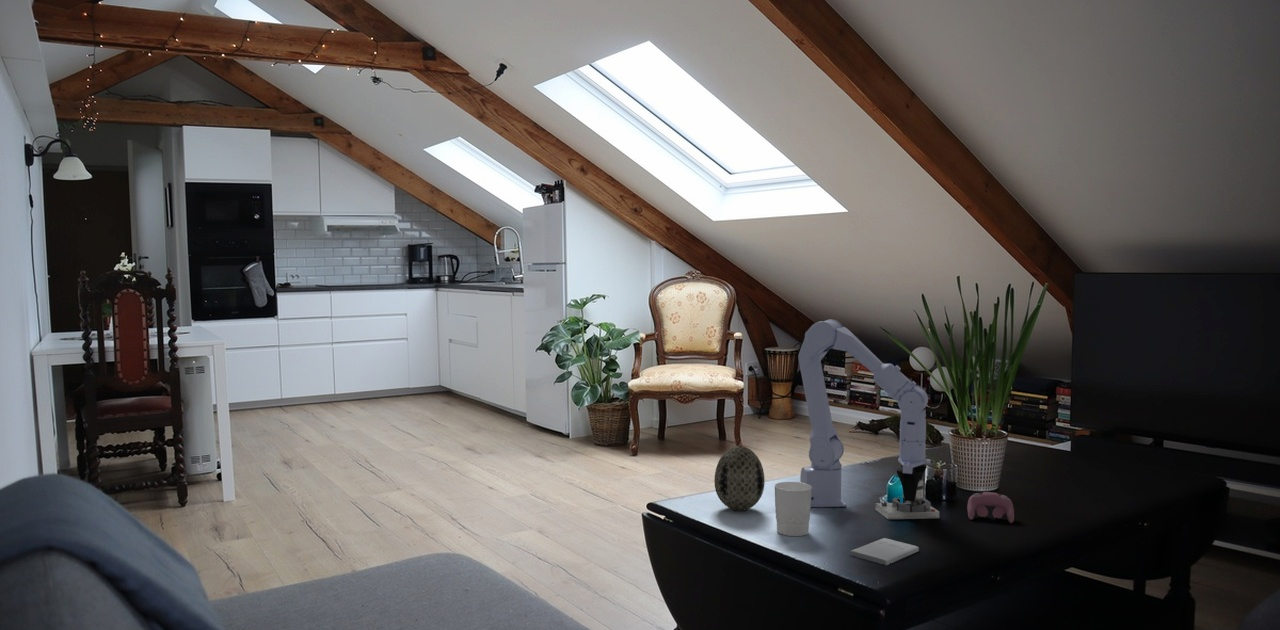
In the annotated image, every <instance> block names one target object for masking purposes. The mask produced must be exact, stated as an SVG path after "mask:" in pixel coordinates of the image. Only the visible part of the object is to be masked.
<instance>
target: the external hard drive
mask: <svg viewBox="0 0 1280 630" xmlns="http://www.w3.org/2000/svg"><path fill="white" fill-rule="evenodd" d="M919 551H920V548H919V546H916V545H913V544H910V543H905V542H902V541H897V540H893V539H890V538H887V537H883V538H880V539H878V540H875V541H872V542H870V543H867V544H864V545H861V546H860V547H857V548H855V549H852V550H850V551H849V556H852V557H854V556H855V558H859V559H861V560H865V559H866V560H865V561H870V562H872V563H873V562H874V563H876V562H877V563H876V564H880V565H883V564H884V566H888V565H891V564H892V563H895V562H897V561H900V560H902V559H904V558H907V557H908V556H911V555H913V554H915V553H917V552H919ZM890 563H891V564H890Z"/></svg>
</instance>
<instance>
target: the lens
mask: <svg viewBox="0 0 1280 630" xmlns="http://www.w3.org/2000/svg"><path fill="white" fill-rule="evenodd" d="M902 497H903V503H905V504H911V505H916V504H923V498H924V480H923V479H921V480H919V483H918V487H917V492H916V497H915V500H914V501H906V500H905V499H904V495H903V494H902Z"/></svg>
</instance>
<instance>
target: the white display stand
mask: <svg viewBox="0 0 1280 630" xmlns="http://www.w3.org/2000/svg"><path fill="white" fill-rule="evenodd" d="M899 499H900V498H896V497H894V498H891V502H887V501H881V502H880V503H879V502H878V503H877V502H876V503H875V508H874V509H875V511H877V512H878V513H879V514H880V515H882V517H884V518H886V519H887V520H916V519H917V520H921V519H923V520H924V519H940V511H939V510H937V509H936V508H934V507H933V506H932V504H931V501H929V500H928V499H927V498H924V497H923V504H916V505H911V504H905V503H900V500H899Z"/></svg>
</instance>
